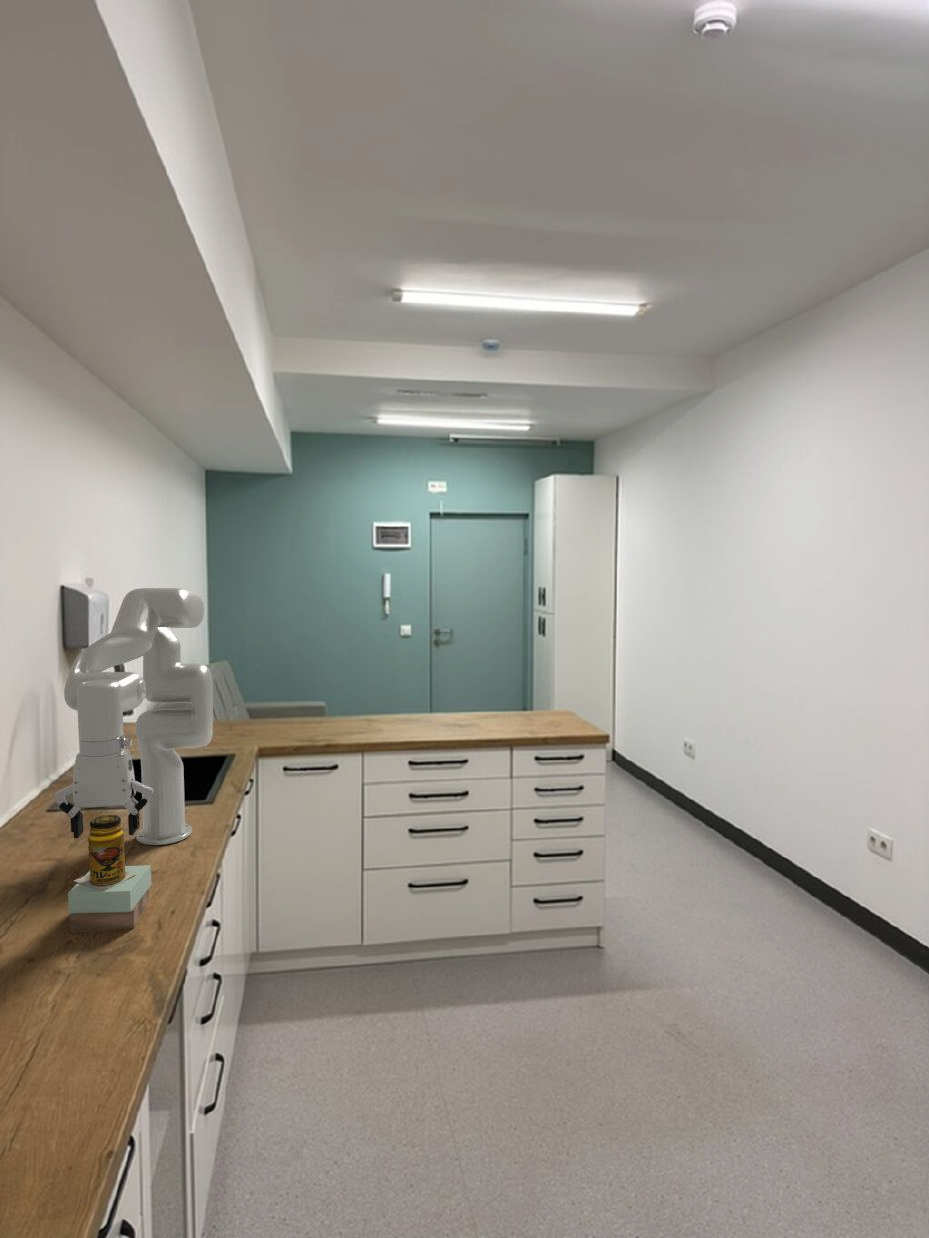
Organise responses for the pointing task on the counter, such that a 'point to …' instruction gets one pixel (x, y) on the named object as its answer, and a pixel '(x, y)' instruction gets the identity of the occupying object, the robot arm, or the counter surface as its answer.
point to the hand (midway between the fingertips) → (106, 834)
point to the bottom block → (108, 919)
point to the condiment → (106, 853)
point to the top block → (111, 894)
